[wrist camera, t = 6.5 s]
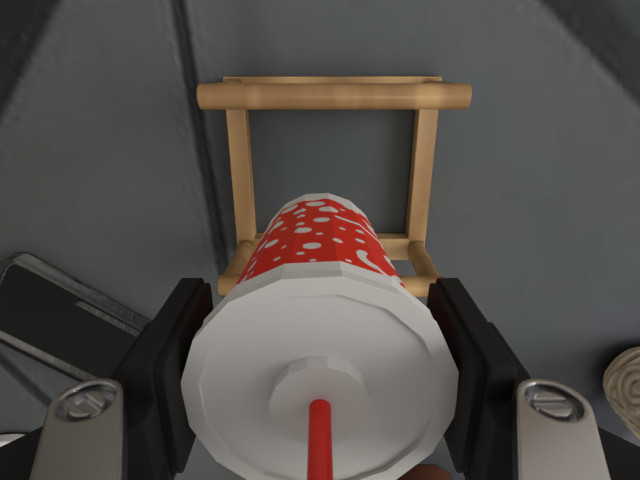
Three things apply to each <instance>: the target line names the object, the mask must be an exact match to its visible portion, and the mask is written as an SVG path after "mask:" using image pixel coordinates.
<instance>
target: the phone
mask: <svg viewBox="0 0 640 480" xmlns="http://www.w3.org/2000/svg"><path fill="white" fill-rule="evenodd" d="M149 322H151V321H149V320H148V319H146V318H144V317H142V316H140V315H139V314H137V313H135V312H133V311H131V310H130V309H128V308H126V307H124V306H122V305H121V304H119V303H117V302H115V301H113V300H111V299H110V298H108V297H106V296H104V295H102V294H101V293H99V292H97V291H95V290H93V289H92V288H90V287H88V286H86V285H84V284H83V283H81V282H79V281H77V280H75V279H73V278H72V277H70V276H68V275H66V274H64V273H63V272H61V271H59V270H57V269H55V268H54V267H52V266H50V265H48V264H46V263H44V262H43V261H41V260H39V259H37V258H35V257H34V256H32V255H29V254H27V253H17V254H15V255H13V256H11V257H10V258H8V259H6V260H5V261H3V262H2V263H1V265H0V343H2V344H4V345H6V346H8V347H10V348H12V349H14V350H16V351H18V352H20V353H22V354H24V355H26V356H28V357H30V358H32V359H34V360H36V361H38V362H40V363H42V364H44V365H46V366H48V367H50V368H52V369H54V370H56V371H58V372H60V373H62V374H64V375H66V376H68V377H70V378H72V379H74V380H76V381H78V382H80V383H81V382H84V381H87V380H91V379H98V378H109V377H110V375H111V374H112V372H113V371H114V369H115V368H116V367H117V365H118V364H119V362H120V361H121V359H122V358H123V356H124V355H125V354H126V352H127V351H128V349H129V348H130V346H131V345H132V344H133V342H134V341H135V339H136V338H137V336H138V335H139V333H140V332H141V331H142V329H143V328H144V326H145V325H146V324H147V323H149Z"/></svg>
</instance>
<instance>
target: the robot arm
mask: <svg viewBox="0 0 640 480" xmlns="http://www.w3.org/2000/svg"><path fill="white" fill-rule="evenodd" d="M427 308H428V309H429V310H430V312H431V315H432V317H433V319H434V320H435V321H436V322H437V324H438V326H439V328H440V330H441V332H442V335H443V337H444V339H445V342H446V344H447V346H448V348H449V351H450V353H451V355H452V358H453V360H454V362H455V364H456V367H457V369H458V371H459V376H458V388H457V400H456V407H455V414H454V418H453V420H452V421H451V423H450V425H449V426H448V428H447V430H446V431H445V433H444V438H445V441H446V443H447V446H448V449H449V452H450V455H451V458H452V461H453V464H454V467H455V469H456V471H457V472H458V473H464V476H465V479H466V480H640V447H639V446H637V445H635V444H632V443H630V442H628V441H626V440H624V439H622V438H620V437H618V436H616V435H614V434H612V433H610V432H608V431H606V430H604V429H601V428H599V427H597V424H596V420H595V416H594V413H593V410H592V408H591V406H590V404H589V402H588V401H587V400H586V399H585V398H584V397H583V396H582V395H581V394H579V393H578V392H577V391H575V390H574V389H572V388H570V387H568V386H566V385H564V384H562V383H559V382H556V381H553V380H549V379H542V378H531V377H530V376H529V374H528V373H527V371H526V370H525V368H524V367H523V365H522V364H521V363H520V361H519V360H518V358H517V357H516V355H515V354H514V353H513V351H512V350H511V348H510V347H509V345H508V344H507V342H506V341H505V340H504V338H503V337H502V335H501V334H500V332H499V331H498V330H497V328H496V327H495V325H494V324H493V323H490V322H487V320H486V319H485V317H484V316H483V314H482V313H481V311H480V310H479V308H478V307H477V305H476V304H475V303H474V301H473V300H472V298H471V297H470V295H469V294H468V292H467V291H466V289H465V288H464V286H463V285H462V283H461V282H460V280H459V279H458V278H437V279H436V282H435V283H430V285H429V291H428V300H427ZM212 311H213V302H212V293H211V286H210V283H204V280H203V278H182V279H181V280H180V281H179V283H178V284H177V286H176V287H175V289H174V290H173V292H172V293H171V295H170V296H169V298H168V299H167V301H166V302H165V304H164V305H163V307H162V308H161V310H160V311H159V312H158V314H157V315H156V317H155V318H154V320H153V321H152V322H149V323H147V324H146V325H145V326H144V328H143V329H142V331H141V332H140V333H139V335H138V336H137V338H136V339H135V341H134V342H133V344H132V345H131V346H130V348H129V349H128V351H127V352H126V354H125V355H124V356H123V358H122V359H121V361H120V362H119V364H118V365H117V367H116V368H115V369H114V371H113V372H112V374H111V375H110V377H109V378H98V379H91V380H87V381H84V382H81V383H78V384H76V385H74V386H72V387H70V388H68V389H66V390H65V391H63V392H62V393H61V394H59V395H58V396H57V397H56V398H55V399H54V400H53V401H52V402H51V404H50V406H49V408H48V410H47V413H46V416H45V420H44V424H43V426H42V427H40V428H38V429H36V430H34V431H32V432H30V433H28V434H4V435H0V480H174V478H175V475H176V473H182V472H183V471H184V469H185V466H186V463H187V460H188V457H189V455H190V452H191V449H192V446H193V443H194V440H195V437H196V434H195V433H194V432H193V430H192V429H191V428H190V426H189V422H188V418H187V413H186V408H185V404H184V399H183V395H182V389H181V379H182V376H183V372H184V369H185V365H186V362H187V358H188V355H189V351H190V348H191V344H192V341H193V339H194V336H195V334H196V332H197V331H198V330H199V329H200V328H201V327H202V325H203V321H204V319H205V318H206V317H207V316H208V315H209V314H210V313H211V312H212Z"/></svg>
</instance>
